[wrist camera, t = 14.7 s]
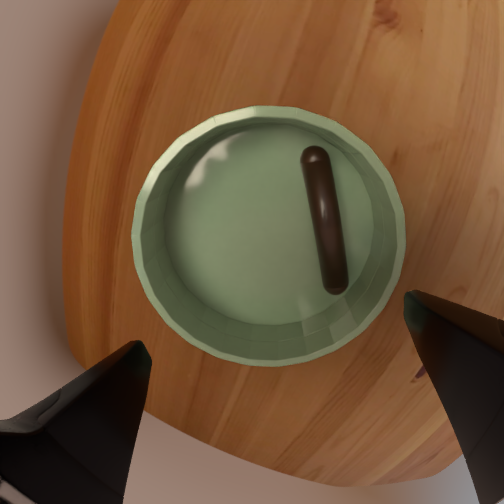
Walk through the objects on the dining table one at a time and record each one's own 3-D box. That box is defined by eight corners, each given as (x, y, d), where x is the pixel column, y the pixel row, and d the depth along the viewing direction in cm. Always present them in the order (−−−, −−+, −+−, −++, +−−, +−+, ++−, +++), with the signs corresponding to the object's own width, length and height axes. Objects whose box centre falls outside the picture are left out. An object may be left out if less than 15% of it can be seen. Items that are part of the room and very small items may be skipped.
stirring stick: (343, 302, 18) (319, 298, 19) (354, 288, 19) (331, 285, 20) (317, 144, 14) (290, 149, 16) (331, 141, 15) (306, 146, 17)
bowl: (383, 304, 20) (404, 338, 16) (197, 339, 22) (185, 377, 18) (357, 99, 15) (383, 86, 11) (133, 153, 17) (99, 157, 13)
